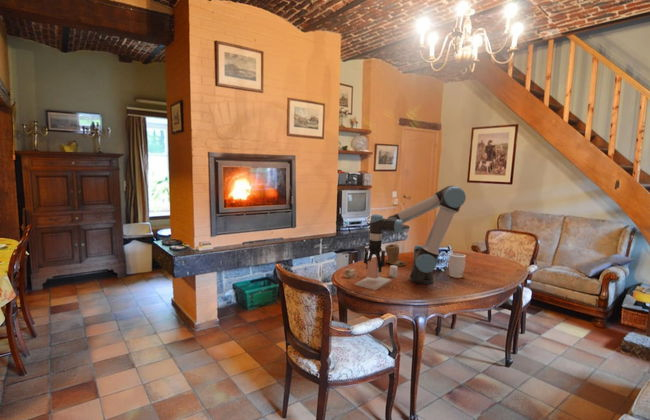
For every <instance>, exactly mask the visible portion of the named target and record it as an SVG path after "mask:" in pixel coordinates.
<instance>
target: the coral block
mask: <svg viewBox="0 0 650 420" xmlns="http://www.w3.org/2000/svg"><path fill="white" fill-rule="evenodd" d="M377 267H379V266H378V262H377V259H374V258H372V259H371V260H369V261H368V265H367V269H366V278H367V277H370V278H375V279H376V278H377Z"/></svg>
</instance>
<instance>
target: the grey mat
mask: <svg viewBox="0 0 650 420" xmlns="http://www.w3.org/2000/svg"><path fill="white" fill-rule="evenodd" d="M391 281H392V279H391V278H386V277H383V276H380V277H378V278H376V279H375V278H370V277H367V276H366V277H365V278H363V279H362V280H358V281H357V282H355V283H354V286H357V287H362V288H365V289H369V290H373V291H377V290H378V289H380V288H381V287H383V286H385V285H388V283H390V282H391Z"/></svg>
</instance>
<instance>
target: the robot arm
mask: <svg viewBox="0 0 650 420" xmlns="http://www.w3.org/2000/svg"><path fill="white" fill-rule="evenodd" d="M466 196H467V194H466V192H465V191H464V189H462V188H461V187H459V186H457V185H447V186H445V187H444V188H441V190H438V191H437V192H435V193H434V194H433V195H432V196H430V197H428V198H426V199H424V200H422V201H420V202H418V203H415V204H414V205H411V206H410V207H408V208H406V209H403V210H401V211H399V212H397V213H395V214H393V215H390V216H388V217H387V218H384V216H383V215H382V214H372V215H371V216H370V220H369V221H370V222H369V224H370V225H369V241H368V242H369V243H368V247H365V248H364V257H363V263H364V264H365V265H366V268H365V270H367V265H368V261H369V260H372V259H373V256H375V257H376V260H377V262H378V266H379V267H377V278H378V277H381V272H382V269H383V268H384V267H385V264H386V263H385V261H386V259H385V258H386V256H385V254H386V250H383V249H382V239H383V232H392V233H393V232H396V233H397V232H398V233H400V232H402V231H403V225H404V224H405V223H407V222H410V221H411V220H414V219H416V218H418V217H420V216H422V215H424V214H426V213H428V212H431V211H432V210H435V209H437V208H439V210H438V213H437V214H436V216H435V217H436V218H435V219H434V222H433V224H432V227H431V228H430V231H429V233H428V236H427V238H426V241H425V243H424V244H423V245H418V244H417V245H414V248H413V262H412V263H413V266H412V270H411V272H410V275H409V281H410V282H412V283H416V284H419V285H430V284H433V283H434V280H435V278H434V273H433V271H434V270H435V269H436V268H437V261H438V258H439V256H440V252H439V249H440V247H441V245H442V243H443V241H444V238H445V236H446V235H447V232H448V230H449V227H450V225H451V223H452V220H453V217H454V215H455V214H457V213H459V211H460V208H461V207H462V206H463V205H464V204H465V202H466V198H467V197H466Z"/></svg>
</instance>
